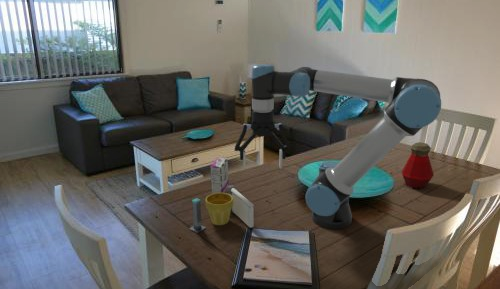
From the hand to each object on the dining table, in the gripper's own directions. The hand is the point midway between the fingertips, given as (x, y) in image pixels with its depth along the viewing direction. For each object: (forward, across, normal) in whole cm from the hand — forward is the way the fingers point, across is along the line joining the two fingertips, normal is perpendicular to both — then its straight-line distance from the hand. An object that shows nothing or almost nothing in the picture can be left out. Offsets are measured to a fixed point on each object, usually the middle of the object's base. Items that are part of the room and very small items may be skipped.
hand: (262, 167), depth 140 cm
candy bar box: (+23, +17, -23) cm, 36 cm away
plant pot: (+23, +16, -2) cm, 28 cm away
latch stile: (+22, +24, +4) cm, 33 cm away
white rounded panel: (+22, +8, -3) cm, 23 cm away
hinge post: (+22, +12, -10) cm, 27 cm away
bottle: (+23, -74, -32) cm, 84 cm away
